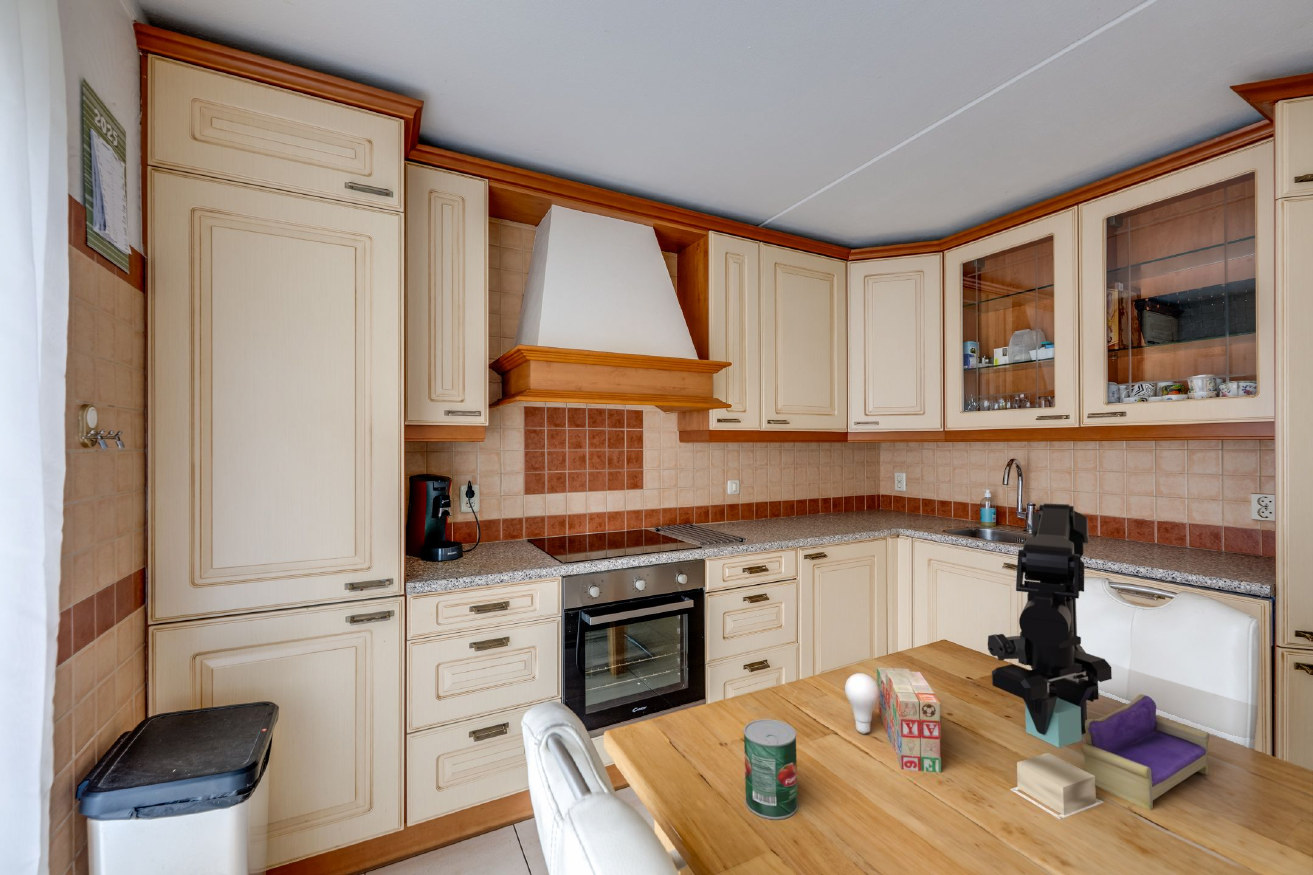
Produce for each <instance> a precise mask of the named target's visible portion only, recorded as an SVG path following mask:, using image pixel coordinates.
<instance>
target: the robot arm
mask: <svg viewBox="0 0 1313 875" xmlns="http://www.w3.org/2000/svg"><path fill="white" fill-rule="evenodd" d="M1038 507H1039V508H1038V510H1037V511H1036V512H1034V513H1032V514H1031V535H1032V537H1028V538H1027V539H1025V542H1024V543H1023V546H1022V547H1023V548H1022V549H1018V551H1017V552H1018V553H1017V565H1016V580H1015V582H1016V583H1015V591H1016V592H1020V593H1021V592H1022V593H1027V595H1026V596H1027V597H1026V600H1027V601H1026V603H1025V606H1024V608H1023V609H1022V611H1021V613H1020V616H1019V619H1018V625H1019V628H1020V630H1021V631H1020V632H1019V635H1013V636H1006V635H1005V634H1003V633H1000V634H999V633H998V634H990V635H988V636H987V650H988V651H989V654H990V655H991V656H993V657H997V660H998V661H1005V660H1017V659H1018V663H1019V664H1021V665H1022V666H1023V665H1024V666H1029V667H1030V669H1026V668H1024V667H1021V666H1019V665H1016V664H1013V663H1012V664H1007V665H1003V666H998V667H996V668H994V669H993V670H991V684H992V687H994V688H997V689H1000V690H1002V691H1004V692H1007V693H1009V694H1010V695H1011V694H1012V695H1014V696H1016V697H1018V698H1020V699H1022V700H1023V701H1024V705H1025V704H1026V706H1027V708H1028V710H1029V713H1030V715H1031V718H1032V720H1033V723H1034V725H1035V728H1036V730H1037V732H1038V733H1040V734H1043V735H1045V734H1046V732H1047V730H1048V727H1049V724H1050V721H1051V717H1052V714H1053V710H1054V707H1055V704H1056V700H1057V698H1059V699H1062V700H1064V701H1067V702H1069V703H1072V704H1074V705H1077V706H1079V707H1081V734H1083V733H1086V730H1085V721H1086V720H1087V719H1088V717H1087V716H1088V714H1087V713H1088V712H1087V710H1088V708H1087V701H1088V702H1091V703H1094V702H1095V700H1099V694H1100V693H1099V683H1103V682H1106V681H1110V680H1112V679H1113V676H1112V675H1113V673H1112V666H1111V664H1109V663H1108V661H1107V660H1106V659H1105V658H1103V657H1099V656H1096V655H1093V654H1090V653H1087V652H1086V651H1085V649H1084V648H1083V646H1082V645H1081V644H1082V636H1080V635H1079V636H1078V627H1077V626H1078V622H1077V620H1078V618H1077V599H1079V598H1080V592H1083V593H1085V562H1084V561H1083V560H1082V556H1083V555H1084V552H1085V544H1088V545H1089V540H1090V539H1089V537H1090V536H1089V535H1090V534H1089V521H1088V517H1087V516H1086V515H1084V514H1082V513H1080V512H1078V511H1076V510H1075V506H1074V505H1070V504H1068V503H1046V502H1045V503H1043V504H1039V506H1038ZM1024 579H1025V580H1024Z"/></svg>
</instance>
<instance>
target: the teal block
mask: <svg viewBox="0 0 1313 875" xmlns="http://www.w3.org/2000/svg"><path fill="white" fill-rule="evenodd" d="M1024 706H1025V709H1024V710H1025V713H1024V714H1025V733H1028V734H1029V735H1031V736H1034V737H1036V738H1038V739H1040V740H1042V741H1044V742H1046V743H1048V744H1049V745H1052V746H1054V747H1056V748H1062V747H1066V746H1069V745H1072V744H1076V743H1079V742H1081V741H1082V733H1081V707H1079V706H1077V705H1074V704H1072V703H1069V702H1067V701H1064V700H1062V699H1059V698H1057V700H1056V704H1055V707H1054V710H1053V714H1052V717H1051V721H1050V724H1049V727H1048V730H1047V732H1046V734H1045V735H1043V734H1040V733H1038V732H1037V730H1036V728H1035V725H1034V723H1033V720H1032V718H1031V715H1030V713H1029V710H1028V708H1027V706H1026V704H1025V703H1024Z"/></svg>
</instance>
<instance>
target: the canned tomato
mask: <svg viewBox="0 0 1313 875" xmlns="http://www.w3.org/2000/svg"><path fill="white" fill-rule="evenodd" d="M743 738H744V740H743V742H744V746H743V747H744V781H745V782H744V786H745V787H744V788H745V804H746V807H747V808H748V810H749V811H750V812H751V813H753V814H754V815H756V816H757V817H760V818H763V819H767V820H776V821H777V820H784V819H788V818H790V817H792V816H793V815H795V813H797V811H798V808H799V802H798V774H797V773H798V770H797V768H798V767H797V766H798V765H797V732H796V730H795V728H794V727H793V726H792V725H791V724H788V723H787V722H785V721H782V720H777V719H769V718H761V719H756V720H753V721H749V722H748V723H747V724H745V726H744V727H743Z"/></svg>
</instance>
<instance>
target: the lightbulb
mask: <svg viewBox="0 0 1313 875" xmlns="http://www.w3.org/2000/svg"><path fill="white" fill-rule="evenodd" d="M844 691H845V696H846V698H847V699H848V702H849V703H850V706H851V708H852V711H853V718H854V719H855V728H856V730H857V731H858V732H860V734H863V735H865V734H867V733H869V732H871V722H872V719H873V711H874V709H875V706H876V705H877V704H878V702H879V695H880V693H879V687H878V682H877V681H876V680H875V679H874V678H873V677H871V676H870V675H869V674H866V673H863V672H857V673H854V674H852V675H850V676H849V677H848V678H847V680H846V682H845V685H844Z"/></svg>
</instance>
